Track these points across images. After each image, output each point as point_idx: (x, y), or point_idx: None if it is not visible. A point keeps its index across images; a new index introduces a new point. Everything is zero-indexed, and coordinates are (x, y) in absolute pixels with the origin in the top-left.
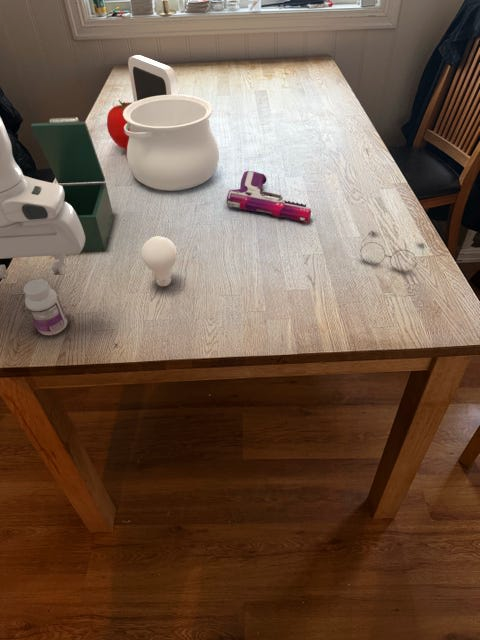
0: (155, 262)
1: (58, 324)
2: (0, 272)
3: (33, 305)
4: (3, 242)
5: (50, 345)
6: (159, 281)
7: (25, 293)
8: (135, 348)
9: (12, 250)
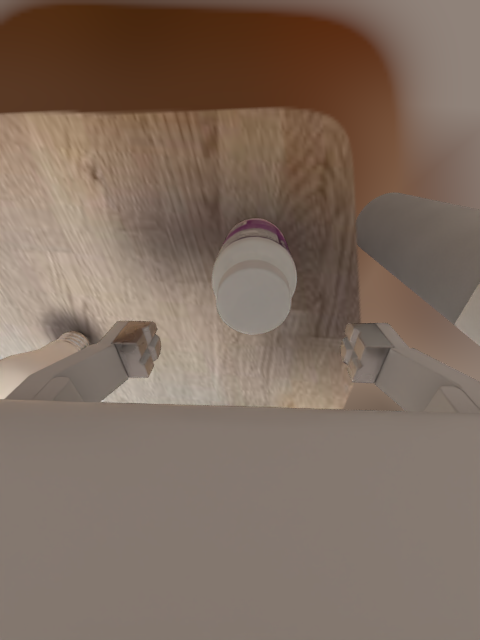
0: (5, 368)
1: (229, 234)
2: (368, 343)
3: (263, 248)
4: (329, 631)
5: (247, 185)
6: (70, 339)
7: (282, 278)
8: (44, 160)
9: (256, 478)
